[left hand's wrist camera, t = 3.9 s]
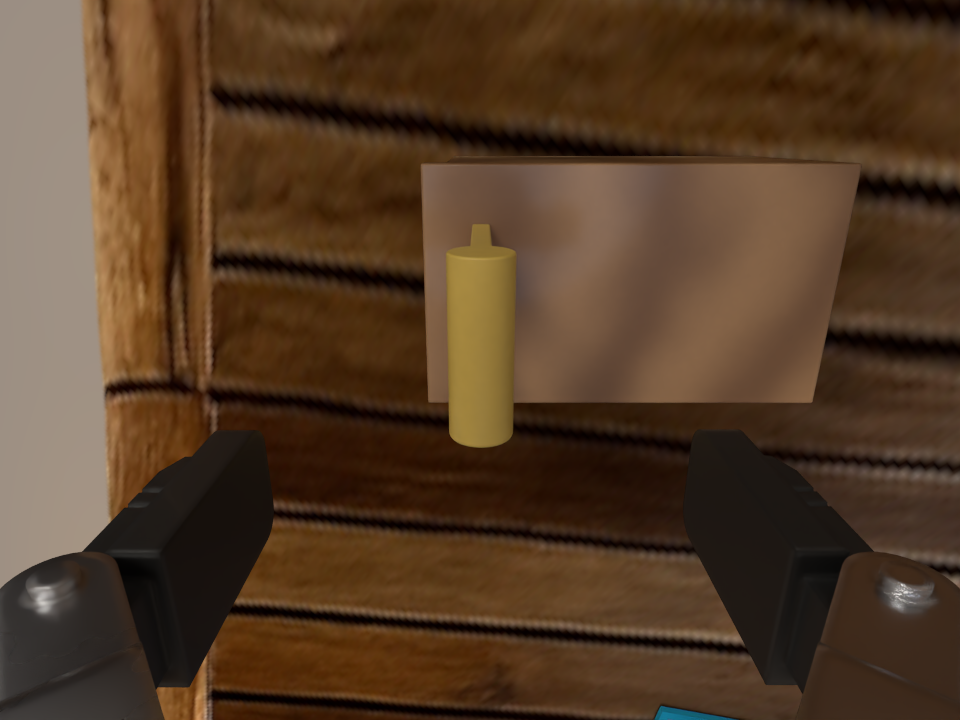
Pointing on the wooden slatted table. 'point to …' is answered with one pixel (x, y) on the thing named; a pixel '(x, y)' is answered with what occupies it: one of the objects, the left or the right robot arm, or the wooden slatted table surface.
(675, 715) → the model building
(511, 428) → the lid
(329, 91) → the wooden slatted table surface
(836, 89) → the wooden slatted table surface
